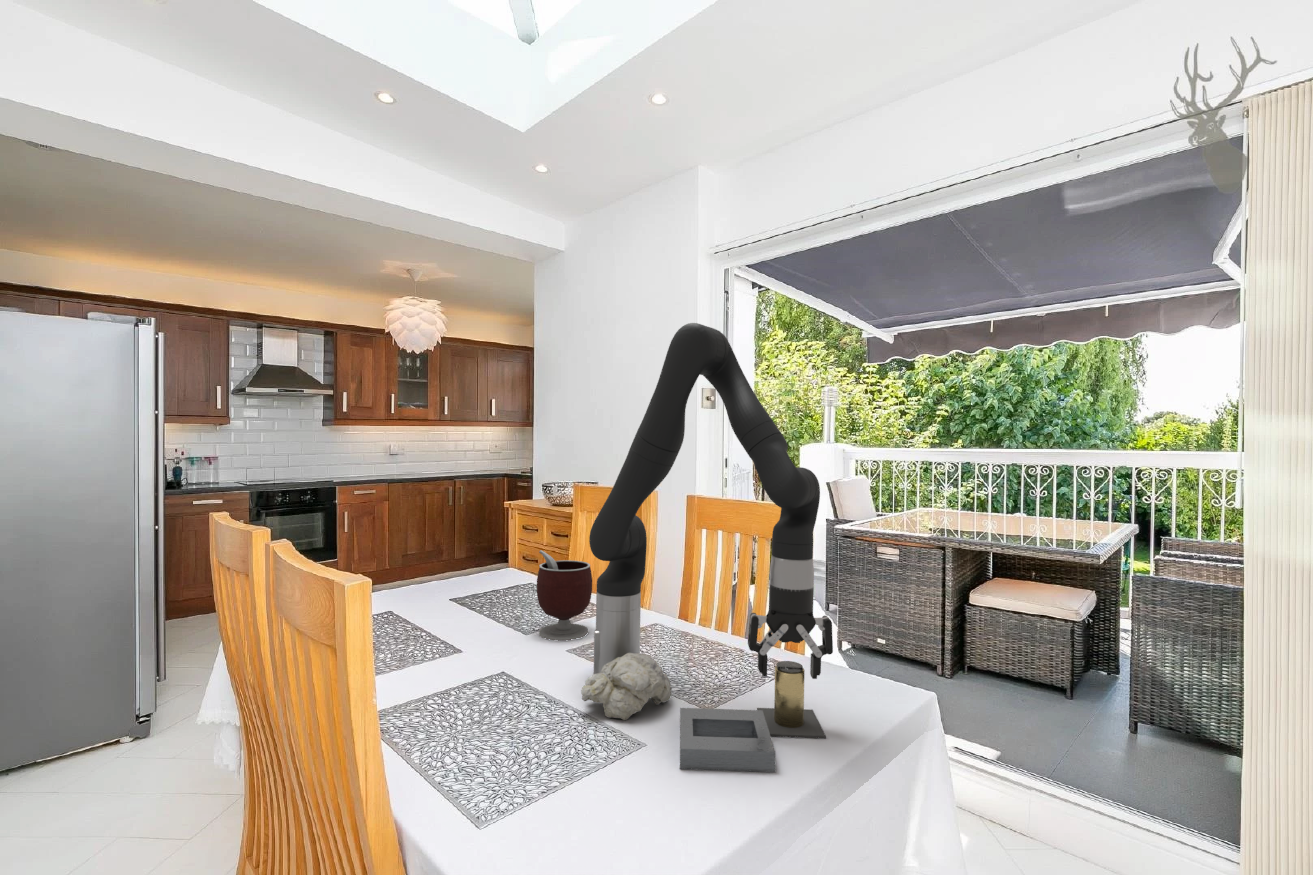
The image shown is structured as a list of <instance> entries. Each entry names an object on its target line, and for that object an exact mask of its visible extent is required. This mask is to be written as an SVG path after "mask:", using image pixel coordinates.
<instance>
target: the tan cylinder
mask: <svg viewBox="0 0 1313 875" xmlns="http://www.w3.org/2000/svg"><path fill="white" fill-rule="evenodd" d="M773 701H774V704H773V706H774V721H775V722H776V723H777V724H778V725H780V726H783V727H787V728H797V727H801V726H802V725H803V724H804V709H805V669H804V667H803V665H802V664H801V663H799V662H796V661H791V660H782V661H778V662H777V664H776V665H775V666H774V700H773Z"/></svg>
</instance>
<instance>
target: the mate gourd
mask: <svg viewBox="0 0 1313 875" xmlns="http://www.w3.org/2000/svg"><path fill="white" fill-rule="evenodd" d="M539 554H541V556H543V558H544V560H545V562H543V563H540V564H539V569H538V571H537V572H538V573H537V578H536V595H537V602H538V605H539V607H540V609H541V610H542V611H543V613H544V614H545V615H548V616H550V617H553V618H555V619H558V621H557V623H554V624H549V625H546V626H544V627H541V628H540V629H539V632H538V634H540V635H539V637H540V638H542V639H544V638H546V639H545V640H548V639H550V640H549V641H554V640H558V641H557V642H563V641H564V642H566V640H568V641H572V640H571V639H576V638H580V639H582V638H581V637H583V636H585V635H586V634H587V633H588V634H589V628H588V627H587V626H585V625H583V624H579V623H578V624H577V623H572V622H571V620H570V619H572V618H575V617H576V616H579V615H581V614H583V613H584V612H585V610H586V609H587V608H588V606H589V605H590V603H591V599H592V594H593V575H592V574H593V573H592V569H591V564H590V563H589V562H586V561H582V560H571V559H570V560H568V559H566V560H563V559H562V560H555V559H554V558H553V557H552V556H551V555H550V554H548V553H546V552H545V551H543V550H539ZM588 634H587V635H588ZM587 635H586V636H587ZM586 636H585V637H586ZM583 638H584V637H583ZM576 640H577V639H576Z"/></svg>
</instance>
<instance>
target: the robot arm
mask: <svg viewBox="0 0 1313 875" xmlns="http://www.w3.org/2000/svg"><path fill="white" fill-rule="evenodd" d="M665 355H666V356H665V358H664V361H663V364H662V368H661V371H660V374H659V378H658V380H657V383H656V387H655V389H654V391H653V393H652V396H651V397H650V398H651V399H650V401H649V403H648V406H647V408H646V410H645V414H644V415H643V418H642V420H641V423H640V424H639V427H638V429H637V430H636V433H635V435H634V438H633V440H632V443H631V445H630V447H629V451H628V453H627V456H626V458H625V460H624V462H623V464H622V467H621V469H620V471H619V473H618V476H617V478H616V480H615V482H614V484H613V487H612V489H611V491H610V493H609V494H608V496H607V499H606V500H605V502H604V504H603V505H602V506H601V509H600V510H599V512H598V514H597V515H596V518H595V520H594V522H593V523H592V525H591V528H590V529H591V530H590V532H589V536H588V537H589V538H588V539H589V540H588V542H589V547H590V551H591V553H592V555H593V556H594V557H595V558H596V559H598V560H600V561H603V562H609V563H608V565H607V567H606V568H605V570H604V571H603V572H602V573H601V574H600V575H599V576H598V577H597V579H596V596H595V600H596V602H595V603H596V604H595V607H596V608H595V629H594V632H593V633H594V634H593V635H594V636H593V675H594V674H597V673H600V672H601V670H602V667H603V666H604V665H605V664H607V663H609V662H611V661H613V660H614V659H616V658H618V657H622V656H624V655H625V654H627V653H633V654H635V653H640V654H641V604H642V603H641V602H642V601H641V600H642V599H641V598H642V597H641V596H642V593H641V592H642V588H641V587H642V582H643V581H644V578H645V574H646V564H647V563H646V562H647V540H648V539H647V538H648V537H647V530H646V527H645V524H644V522H643V520H642V519H641V518H640V517H639V516H638V515H637V513H638V511H639V510H640V509H641V508H640V507H641V506H642V504H644V502H645V501H646V500H647V498H648V497H649V496H650V495H651V494H652V493H654V491H655V490H656V489H657V488H658V487H659V485H660V484H661V483H662V482H663V481H664V479H665V478H666V477H667V476H668V475H669V473H670V471H671V470H672V468H673V466H674V463H675V462H676V459H677V457H678V456H679V453H680V450H681V448H682V445H683V443H684V438H685V429H686V409H687V404H688V400H689V397H690V394H691V393H692V390H693V388H694V387H695V383H696V382H697V380H698V378H699V376H703V377H704V378H705V379H706V380H707V381H708V382H709V383H710V384H711V386H712V387H713V388H714V389H715V390H716V392H717V394H718V395H719V396H720V399H721V400H722V402H723V404H724V407H725V410H726V414H727V417H728V421H729V423H730V424H729V425H730V426H731V429H732V431H733V434H734V435H735V437H736V439H737V440H738V441H739V443H740V445H741V447H742V448H743V450H744V451H745V452H746V454H747V456H748V457H749V458H750V460H752V462H753V464H754V468H755V470H756V472H757V476H758V478H759V481H760V483H761V485H762V488H763V489H764V491H765V492H764V493H766V495H767V496H768V498H769V499H770V500H771V501H772V502H773V504H775V505H776V506H777V507H779V508H780V514H779V520H778V521H777V522H776V523H775V525H774V526H773V529H772V534H771V536H772V537H771V540H772V541H771V559H770V565H769V574H768V580H769V583H768V585H769V591H768V612H767V614H766V615H761V614H757V613H756V612H752V613H750V615H749V622H748V624H749V626H748V634H747V636H748V637H747V645H748V646H747V647H748V649H749V650H750V651H751V652H755V653H757V668H758V672H759V673H760V674H761V676H762V677H766V678H767V677H768V654H767V653H769V651H770V650H771V649H772V648H773V647H774V646H775V645H776V644H777V643H778V641H780V642H781V643H786V644H787V643H790V642H791V643H795V644H801V643H802V642H805V644H806V645H807V646H808V647H809V648H810V651H811V652H812V653H810V664H809V665H810V666H809V667H810V669H809V670H810V671H809V673H810V674H809V675H810V677H811V679H812V680H817V679H818V676H820V675H821V673H822V670H821V669H822V668H821V667H822V657H823V656H826V655H832V654H833V652H834V649H833V648H834V645H833V643H834V642H833V621H832V620H831V619H830V617H829V616H828V615H823V616H822V617H814V594H815V592H814V590H815V566H814V530H815V525H816V521H817V516H818V512H819V506H820V500H821V498H820V497H821V488H820V482H819V480H818V477H817V476H816V474H815V473H814V472H813V471H812V470H810V469H809V468H806V467H801V466H799V467H796V465H795V464H794V462H793V461H792V458H791V457H790V456H789V453H788V448H789V445H788V443H787V440H786V438H785V437H784V435H783V434H782V432H781V431H780V429H779V428H778V426H777V424H776V422H774V421H773V419H772V417H771V416H770V414H769V413H768V412H767V410H766V409H765V408H764V406H763V404H762V403H761V401H760V400H759V398H758V397H757V394H756V393H755V392H754V390H753V388H752V386H751V384H750V383H749V382H748V380H747V377H746V376H745V374H744V372H743V370H742V368H741V365H740V364H739V361H738V359H737V356H736V354H735V352H734V350H733V348H732V346H731V344H730V342H729V340H728V338H727V337H726V335H725V334H724V333H723V332H721V330H718V329H716V328H714V327H710V326H707V325H704V324H701V323H697V322H690V323H686V324H684V325H683V326H681V327H680V328H678V330H676V332H675V334H674V335H673V336H672V338H671V340H670V343H669V346H668V348H667V352H666V354H665ZM764 624H767V626H768V627H769V630H768V631H767V633H766V634H765V635H764V637H763V639H762V640H761V641H760V643H759V642H758V633H759V632H758V631H759V629H762V628H763V625H764ZM815 626H818V630H820V631H821V633H822V634H821V642H822V644H820V645H817V643H816V641H814V638H812V636H811V634H810V633H811V632H812V630H813V629H814V628H815Z"/></svg>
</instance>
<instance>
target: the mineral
mask: <svg viewBox="0 0 1313 875" xmlns="http://www.w3.org/2000/svg"><path fill="white" fill-rule="evenodd" d="M581 695H582V696H581V699H582V701H583V702H587V701H588V700H589V701H592V702H593V703H601V704H602V707H603V709H604V710H603V712H604V716H606V718H610V719H612V718H613V719H621V720H622V721H624V722H625V721H628V720H629V718H630V717H631V716H632V715H633V714H636V713H638V712H641V711H642V708H643V707H644V706H645V705H646V704H647V703H648V701H649V699H651V701H652V702H653V703H654V704H655V705H656V706H659V705H660V704H661V703H666V702H668V701H669V700H670V699H671V697H672V686H671V681H670V679H669V677H668V675H667V674H666V673H664V671H663V669H662V668H661V666H660V665H659V664H658V662H657V660H656V659H655V658H653V657H652V656H651V655H649V654H645V653H641V652H640V653H635V654H633V653H627V654H625V655H624V656H622V657H618V658H616V659H614V660H613V661H611V662H609V663H607V664H605V665H604V666H603V667H602V670H601V672H600V673H597V674H594V673H593V674H592V675H591V676H590V677H588V678H587V679H586V680H585V683H584V686H582V687H581Z"/></svg>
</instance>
